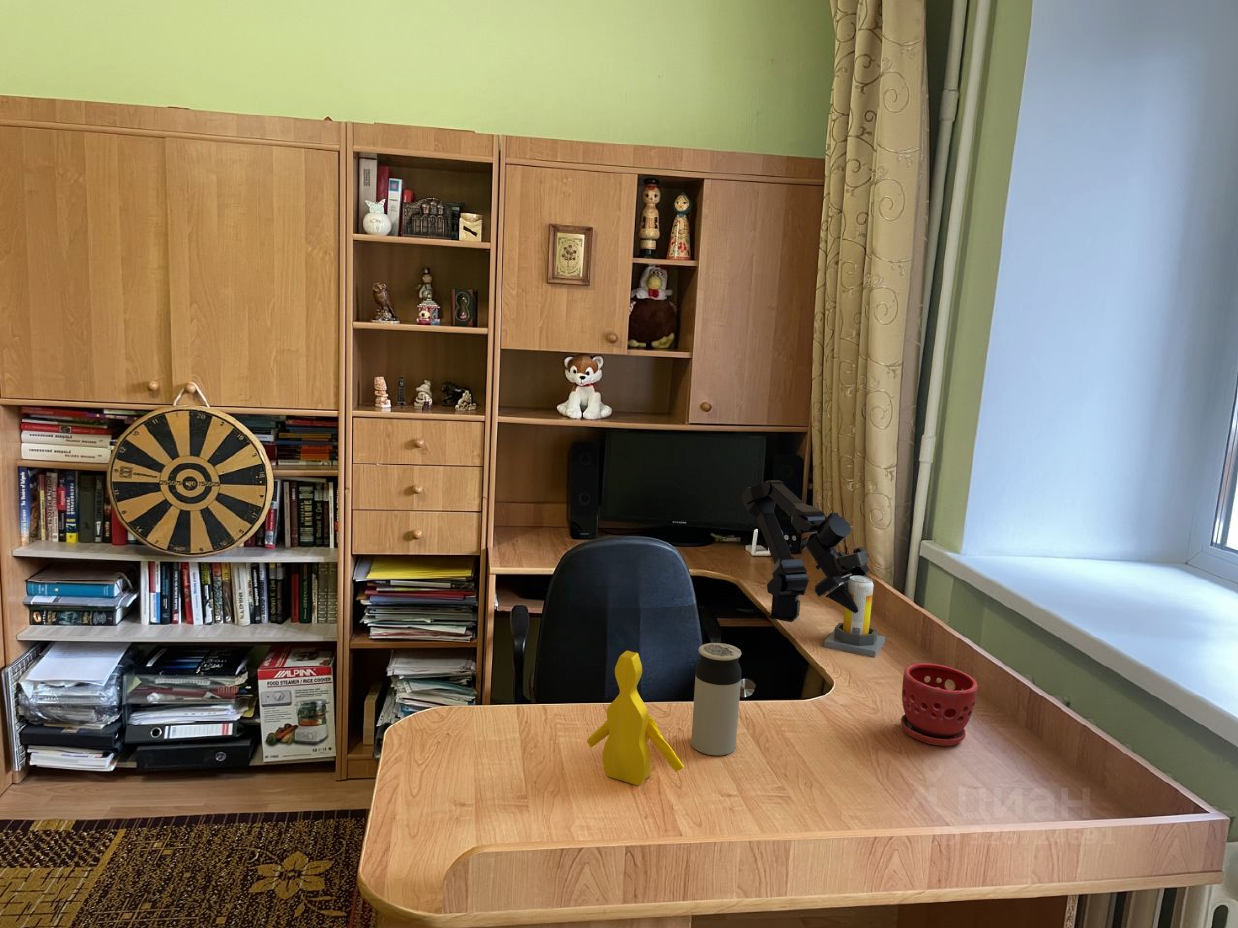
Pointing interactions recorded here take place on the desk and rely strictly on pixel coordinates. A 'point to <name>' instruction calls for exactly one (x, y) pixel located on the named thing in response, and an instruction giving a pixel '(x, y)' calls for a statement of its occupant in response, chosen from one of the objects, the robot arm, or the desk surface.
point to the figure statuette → (630, 729)
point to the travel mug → (716, 699)
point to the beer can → (859, 605)
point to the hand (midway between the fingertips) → (863, 609)
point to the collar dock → (855, 641)
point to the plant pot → (937, 703)
